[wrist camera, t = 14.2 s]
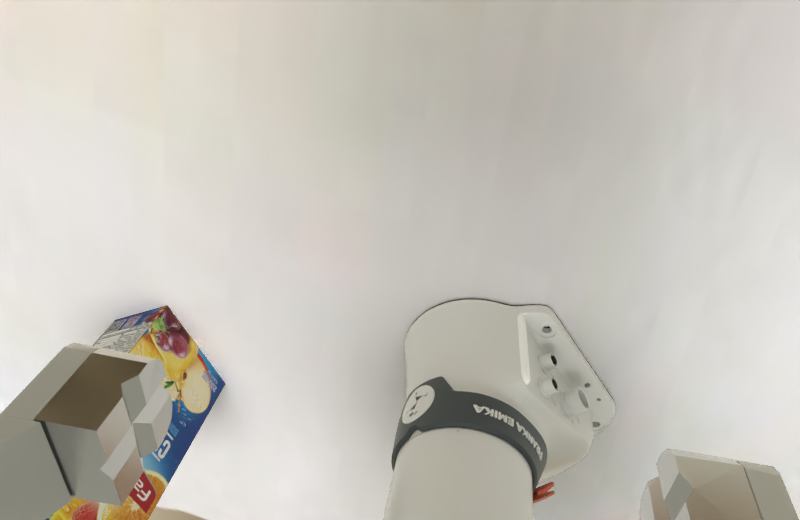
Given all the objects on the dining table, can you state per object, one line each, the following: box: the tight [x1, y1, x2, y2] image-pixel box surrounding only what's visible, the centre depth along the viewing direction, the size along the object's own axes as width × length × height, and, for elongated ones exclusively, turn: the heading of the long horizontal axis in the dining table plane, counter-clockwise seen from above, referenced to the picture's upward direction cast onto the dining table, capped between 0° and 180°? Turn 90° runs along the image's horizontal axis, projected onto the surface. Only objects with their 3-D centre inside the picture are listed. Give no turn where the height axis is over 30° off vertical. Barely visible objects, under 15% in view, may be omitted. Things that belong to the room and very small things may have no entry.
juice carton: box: [46, 306, 225, 520], centre depth 59 cm, size 12×8×24 cm, turn 24°
